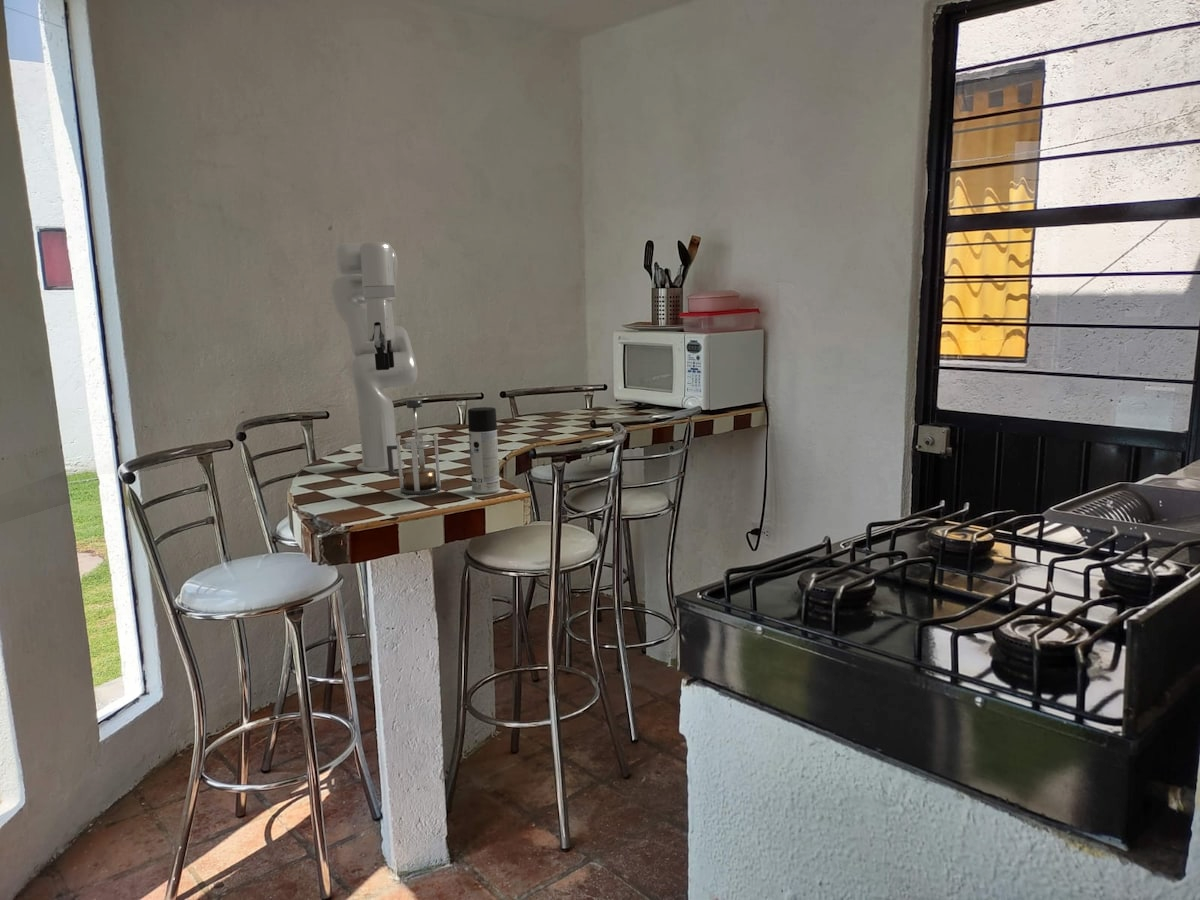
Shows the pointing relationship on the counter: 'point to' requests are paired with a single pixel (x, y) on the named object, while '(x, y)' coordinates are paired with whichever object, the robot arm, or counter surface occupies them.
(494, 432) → the spray can
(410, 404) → the coffee press plunger
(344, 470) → the counter surface
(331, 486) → the counter surface
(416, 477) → the cafetera
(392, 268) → the robot arm
